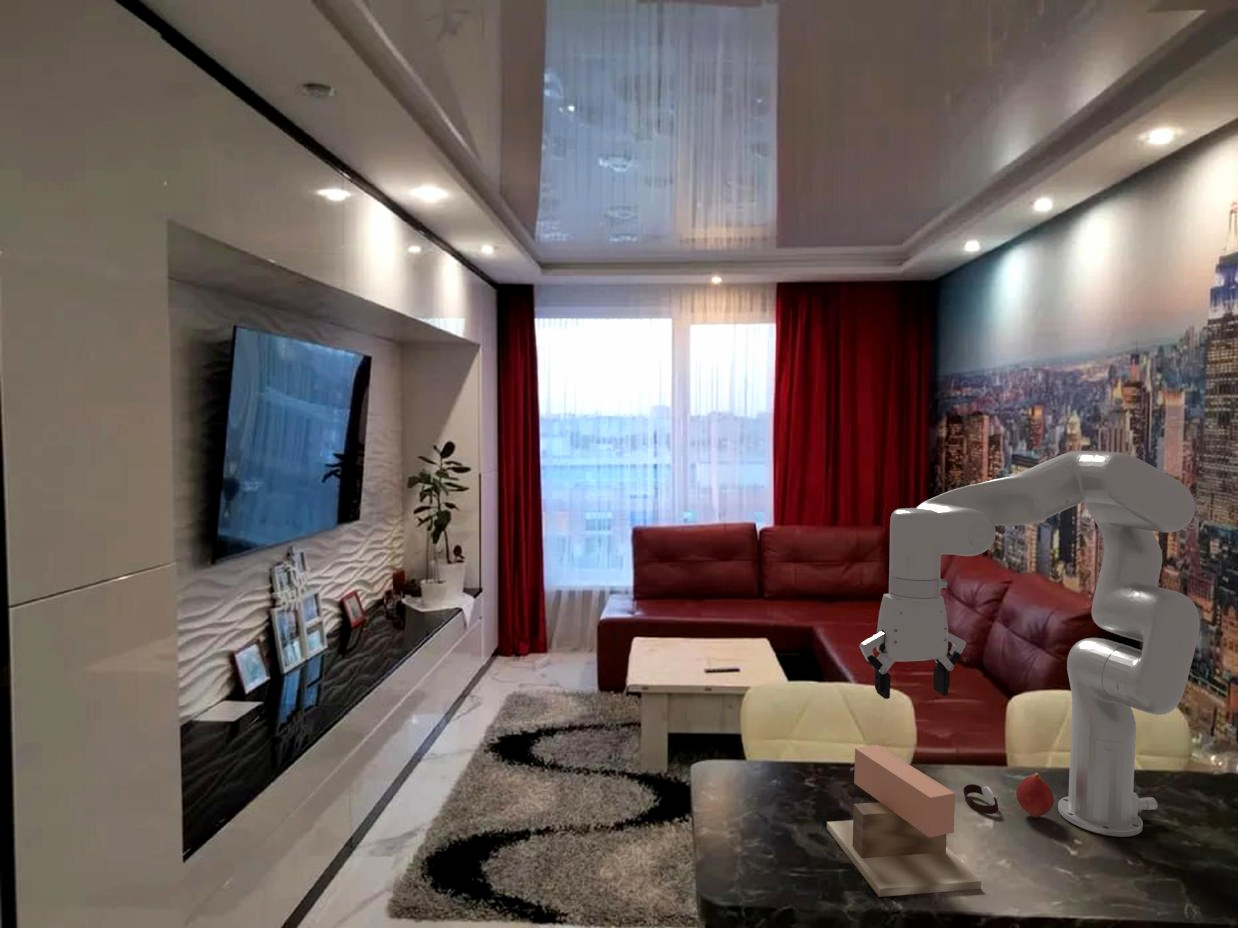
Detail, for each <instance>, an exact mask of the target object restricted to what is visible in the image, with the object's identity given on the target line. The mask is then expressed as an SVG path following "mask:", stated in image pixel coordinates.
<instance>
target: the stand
mask: <svg viewBox="0 0 1238 928" xmlns="http://www.w3.org/2000/svg"><path fill="white" fill-rule="evenodd" d="M852 811H853V815H852V816H853V818H852V819H851V820H849V819H848V820H836V821H826V830H827V832H829V834H830V835H831V836H832V837H833V839H834V840H835V841H836V843H837V844H838V845H839V846H840V848H841V849H842V850H843V852H844V853H845V855H846V856H847V857H848V858H849V859H850V861H851V863H853V865H854V866H855V868H856V869H857V870H858V872H859V873H860V874H861V875H862V877H864V879H865V880H866V881H867V883H868V884H869V886H870V887H871V889H873V891H874V892H875V893H876V895H877V896H878V898H880V897H881V898H882V897H892V896H905V895H908V896H909V895H918V894H932V893H933V894H934V893H944V892H957V891H960V892H961V891H970V890H971V891H972V890H981V889H982V880H981V879H980V878H979V877H978V876H977V875H976V874H975V873H974V872H973V871H972V870H971V869H970V868H969V867H968V866H967V865H966V864H965V863H964V862H963V861H962V860H961V859H960V858H959V857H957V855H955V854H954V852H953V851H951V849H949V848H948V847H947V834H944V835H939V836H934V837H928V836H926V835H925V834H924V833H922V832H921V831H919V830H918V829H917V828H915V827H914V826H913V825H911V824H910V823H908V822H907V821H906V820H904V819H903V818H902V817H900V816H899V815H897V814H896V813H895V812H893V811H892V810H890V809H889V808H888V807H886V806H885V805H884V804H882V803H881V802H879V801H877V802H863V803H861V802H859V803H853V810H852Z"/></svg>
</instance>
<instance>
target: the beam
mask: <svg viewBox="0 0 1238 928" xmlns="http://www.w3.org/2000/svg"><path fill="white" fill-rule="evenodd" d="M853 777H854V778H853V779H854V782H853V783H854V784H855V785H856V786H857V787H859V789H862V790H863V791H864V792H865V793H867V794H869V795H870V796H871V797H872V798H874V799H876V800H877V802H881V803H882V804H884V805H885V806H886V807H888V808H889V809H890V810H892V811H893V812H895V813H896V814H897V815H899V816H900V817H902V818H903V819H904V820H906V821H907V822H908V823H910V824H911V825H913V826H914V827H915V828H917V829H918V830H919V831H921V832H922V833H924V834H925V835H926V836H928V837H934V836H939V835H944V834H946V835H947V834H948V835H949V834H953V833H955V809H956V808H955V807H956V806H955V805H956V804H955V803H956V793H955V792H954V791H952V790H951V789H950V788H948V787H946V786H944V785H943V784H941V783H939V782H938V781H936V780H934V779H933V778H931V777H930V776H928V775H927V774H925V773H923V772H921V771H920V770H918V769H917V768H915V767H914V766H912V765H910V764H909V763H907V762H906V761H904V760H903V759H900V758H899V757H898V756H895V755H894V754H893V753H891V752H890V751H888V750H887V749H885V748H883V747H881V746H880V745H878V744H876V745H868V746H862V747H856V748H854V776H853Z"/></svg>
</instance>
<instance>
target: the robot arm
mask: <svg viewBox="0 0 1238 928" xmlns="http://www.w3.org/2000/svg"><path fill="white" fill-rule="evenodd" d="M1083 503H1085V504H1084V505H1085V507H1086V510H1087V512H1088V513H1089V515H1090V517H1091V518H1092V519H1093V521H1094V522H1095V524H1096V525H1097V528H1098V529H1099V531H1100V533H1101V536H1102V539H1103V544H1104V545H1103V546H1104V553H1103V557H1102V563H1101V568H1100V570H1099V576H1098V579H1097V584H1096V588H1095V591H1094V595H1093V600H1092V605H1091V611H1090V612H1091V618H1092V620H1093V622H1094V623H1095V624H1096V625H1097V626H1098V627H1099V628H1101V629H1103V630H1105V631H1106V632H1110V633H1113V634H1114V635H1115V634H1116V635H1119V636H1121V637H1125V638H1128V639H1132V640H1135V641H1139V642H1142V649H1138V648H1135V647H1134V646H1130V645H1126V644H1124V643H1119V642H1117V641H1114V640H1110V639H1105V638H1099V637H1089V638H1087V637H1086V638H1083V639H1081V640H1079V641H1077V642H1076V643H1074V645H1073V646H1072V647H1071V649H1070V650H1069V653H1068V655H1067V661H1066V666H1067V667H1066V669H1067V675H1068V676H1067V677H1068V681H1069V687H1070V692H1071V706H1072V707H1071V729H1070V748H1069V749H1070V750H1069V751H1070V752H1069V753H1070V755H1069V756H1070V757H1069V774H1068V775H1069V776H1068V777H1069V778H1068V795H1067V796H1064V797H1062V798H1061V799H1059V801H1058V804H1057V810H1058V813H1059V814H1060V815H1061V816H1062V817H1063V819H1065V820H1066V821H1068V822H1070V823H1071V824H1073V825H1074V826H1077V827H1079V828H1080V829H1084V830H1087V831H1089V832H1092V833H1095V834H1099V835H1103V836H1110V837H1118V838H1119V837H1120V838H1125V837H1135V836H1136V835H1137V836H1138V835H1139V834H1140V833H1142V831H1143V827H1144V823H1143V819H1142V818H1141V817H1140V816H1139V815H1138V814H1139V813H1141V812H1142V811H1143V810H1146V811H1147V810H1148V811H1149V810H1157V808H1158V801H1157V800H1156V798H1154V797H1141V798H1139V795H1138V794H1137V792H1134V782H1135V779H1134V778H1135V763H1136V762H1135V760H1136V741H1137V723H1136V718H1135V715H1134V711H1133V709H1136V710H1138V711H1141V712H1143V713H1146V714H1149V715H1150V714H1151V715H1155V716H1157V715H1159V716H1160V715H1162V716H1163V715H1166V714H1169V713H1170V712H1173V711H1174V710H1175V709H1176V707H1178V706H1179V704H1180V703H1181V700H1182V697H1183V696H1184V693H1185V690H1186V687H1187V684H1188V678H1189V674H1190V672H1191V667H1192V663H1193V659H1194V655H1195V651H1196V648H1197V643H1198V640H1199V633H1200V626H1201V625H1200V614H1199V611H1198V608H1197V606H1196V604H1195V603H1194V601H1192V599H1191V598H1190V597H1189V596H1187V595H1185V594H1184V593H1181V592H1179V591H1176V590H1172V589H1168V588H1164V587H1160V586H1159V580H1160V576H1161V575H1160V574H1161V569H1162V566H1163V552H1162V548H1161V546H1160V544H1159V543H1160V542H1159V541H1158V539H1157V537H1156V535H1155V534H1154V532H1155V533H1164V534H1165V533H1168V534H1169V533H1175V532H1179V531H1181V530H1183V529H1184V528H1186V527H1187V526H1189V524H1190V523H1191V522H1192V520H1193V518H1194V515H1195V512H1196V502H1195V499H1194V495H1193V494H1192V492H1191V491H1190V489H1189V488H1188V487H1187V486H1186V485H1185V484H1183V483H1182V482H1181V481H1180V480H1177V479H1176V478H1174V477H1173V476H1171V475H1170V474H1169V475H1168V473H1165V472H1164V471H1162V470H1160V469H1158V468H1156V467H1155V466H1153V465H1151V464H1149V463H1148V462H1146V461H1144V460H1142V459H1140V458H1138V457H1136V456H1134V455H1131V454H1128V453H1125V452H1124V453H1123V452H1117V451H1097V450H1096V451H1095V450H1074V451H1073V450H1072V451H1068V452H1066V453H1063V454H1060V455H1057V456H1056V457H1054V458H1051V459H1048V460H1045V461H1044V462H1041V463H1039V464H1036V465H1035V466H1033V467H1032V466H1031V467H1030V468H1027V469H1025V470H1023V471H1020V472H1018V473H1016V474H1013V475H1010V476H1005V477H1000V478H995V479H991V480H987V481H984V482H980V483H975V484H970V485H965V486H961V487H957V488H955V489H951V490H948V491H946V492H943V493H941V494H939V495H936V496H934V497H932V498H930V499H927V500H925V501H923V502H921V503H920V504H919V505H918V506H916V507H909V508H908V507H906V508H897V509H895V510H894V511H893V512H892V513H891V516H890V517H889V518H890V521H889V522H890V523H889V563H888V564H889V568H888V570H889V574H888V593H884V594H883V596H882V599H881V603H880V608H879V611H878V620H877V628H876V634H873V635H872V636H871V637H869V638H867V639H865V640H864V641H862V642H860V643H859V649H860V651H861V652H862V655H863V656H864V660H865V661H866V662H867V663H868V664H869V665H870V666H871V668H873V670H874V689H875V691H876V693H877V694H878V695H879V696H880V697H881V698H883V699H884V700H889V699H890V698H891V674H890V673H888V671H889V670H890V668H892V666H893V665H894V664H895V663H896V662H919V661H920V662H921V661H924V662H925V661H935V663H937V664H935V665H934V666H933V684H932V688H933V691H935V692H937V693H938V694H940V695H942V696H943V697H947V696H948V695H949V689H950V679H951V678H950V677H951V675H950V674H951V672H952V670H954V668H955V667H954V665H956V664H957V662H958V661H959V660H960V659H961V657H962V656H961V655H962V653H963V652H964V649H965V648H966V646H967V641H966V640H964V639H962V638H960V637H958V636H957V635H954V634H952V633H951V632H949V627H948V626H949V625H948V615H947V609H946V604H945V599H944V596H942V595H941V593H942V589H943V588H944V589H946V588H947V587H948V581H947V579H944V578H943V579H942V577H941V565H942V561H941V560H942V558H941V557H942V555H949V556H950V555H953V556H963V557H973V556H977V555H980V554H983V553H986V551H987V550H989V549H990V548H991V547H992V545H993V544H994V542H995V540H996V535H997V534H996V533H997V532H996V531H997V530H996V527H997V526H1001V527H1002V526H1008V527H1009V526H1011V527H1013V526H1022V525H1023V526H1025V525H1032V524H1037V523H1040V522H1043V521H1045V520H1047V519H1049V518H1052V517H1053V516H1055V515H1057V514H1059V513H1062V512H1064V511H1066V510H1068V509H1070V508H1071V509H1072V508H1073V507H1075V506H1078V505H1080V504H1083ZM949 642H950V643H951V645H952V646H951V648H950V650H949ZM875 648H876V651H877V652H878V653H879V654H878V656H877V657H875V654H874V652H873V650H874V649H875ZM950 671H951V672H950ZM1132 708H1133V709H1132Z"/></svg>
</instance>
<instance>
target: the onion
mask: <svg viewBox="0 0 1238 928" xmlns="http://www.w3.org/2000/svg"><path fill="white" fill-rule="evenodd" d="M1015 790H1016V791H1015V796H1016V800H1017V802H1018V803H1019V806H1020V807H1021V808H1022V809H1023V810H1024V811H1025V812H1026V813H1028V814H1029V815H1030V817H1032V818H1034V819H1038V818H1040V817H1041V816H1043V815H1045V814H1047V813H1048V812H1049V811H1051V809H1053V807H1054V804H1055V801H1054V800H1055V797H1054V794H1053V791H1052V789H1051V787H1050V786H1049V784H1047V782H1045V781H1044V780H1043V779H1042V778H1041V777H1040V773H1038V772H1034V773H1033V774H1032V775H1030V776H1027V777H1025V778H1024V779H1022V780H1021V781H1020V782H1019V784H1018V786H1017V787H1016V789H1015Z"/></svg>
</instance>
